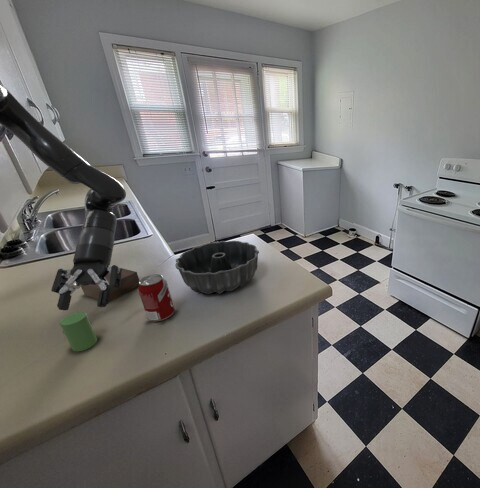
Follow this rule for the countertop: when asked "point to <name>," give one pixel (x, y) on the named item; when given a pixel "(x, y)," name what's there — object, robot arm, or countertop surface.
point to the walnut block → (127, 283)
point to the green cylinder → (78, 331)
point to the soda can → (156, 297)
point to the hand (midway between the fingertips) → (82, 308)
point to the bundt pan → (218, 266)
